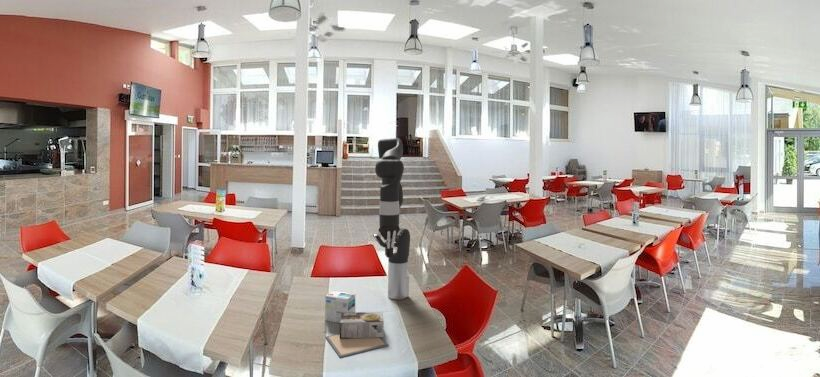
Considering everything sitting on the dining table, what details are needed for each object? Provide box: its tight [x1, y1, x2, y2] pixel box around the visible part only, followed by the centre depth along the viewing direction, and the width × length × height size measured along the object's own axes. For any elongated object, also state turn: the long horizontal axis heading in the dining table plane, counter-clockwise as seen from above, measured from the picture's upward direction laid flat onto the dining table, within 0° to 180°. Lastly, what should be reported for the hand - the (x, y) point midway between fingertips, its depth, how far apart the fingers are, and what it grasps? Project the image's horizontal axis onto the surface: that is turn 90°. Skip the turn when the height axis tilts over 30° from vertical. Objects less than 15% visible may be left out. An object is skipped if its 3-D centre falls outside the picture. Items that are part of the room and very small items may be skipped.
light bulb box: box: [324, 290, 356, 324], centre depth 160 cm, size 11×7×11 cm, turn 71°
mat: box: [325, 333, 389, 359], centre depth 142 cm, size 18×16×1 cm
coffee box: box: [339, 311, 385, 339], centre depth 148 cm, size 9×6×16 cm
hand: (389, 257), depth 150 cm, fingers closed
